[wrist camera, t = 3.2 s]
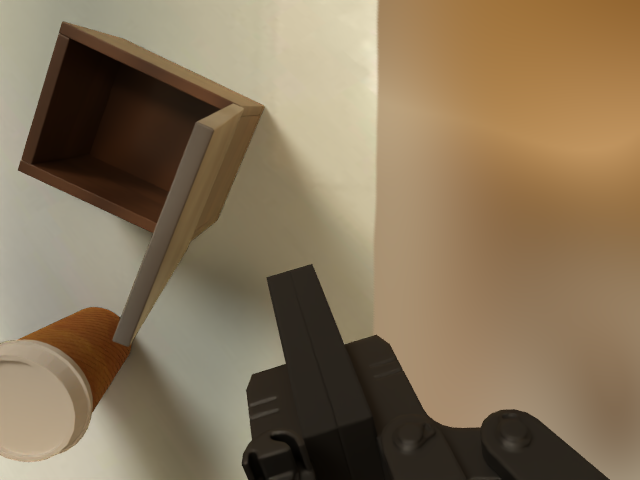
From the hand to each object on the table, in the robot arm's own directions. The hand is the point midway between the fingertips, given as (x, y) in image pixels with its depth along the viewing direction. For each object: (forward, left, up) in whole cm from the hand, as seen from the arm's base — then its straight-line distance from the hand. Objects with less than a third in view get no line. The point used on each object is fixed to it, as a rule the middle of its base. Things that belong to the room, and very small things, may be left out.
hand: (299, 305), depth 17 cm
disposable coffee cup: (+27, -2, -28) cm, 39 cm away
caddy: (+9, -12, -28) cm, 31 cm away
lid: (+5, -6, -12) cm, 14 cm away
